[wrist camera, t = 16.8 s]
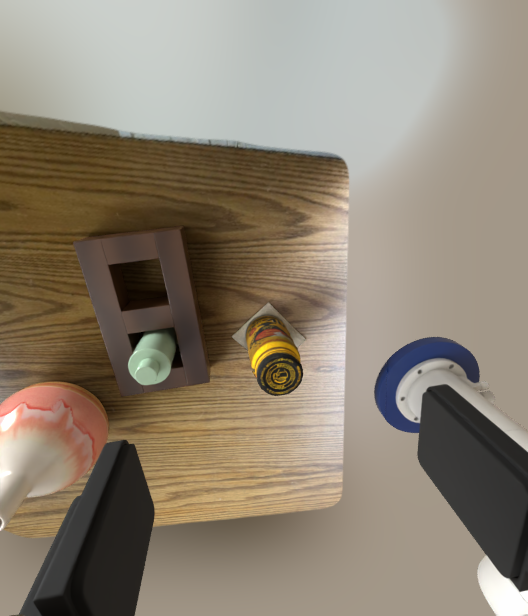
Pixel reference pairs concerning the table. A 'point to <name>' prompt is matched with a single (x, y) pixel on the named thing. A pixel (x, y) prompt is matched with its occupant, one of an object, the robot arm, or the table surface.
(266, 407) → the table surface
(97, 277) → the peg block
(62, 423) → the vase
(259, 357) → the condiment
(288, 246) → the table surface
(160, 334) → the bottle
